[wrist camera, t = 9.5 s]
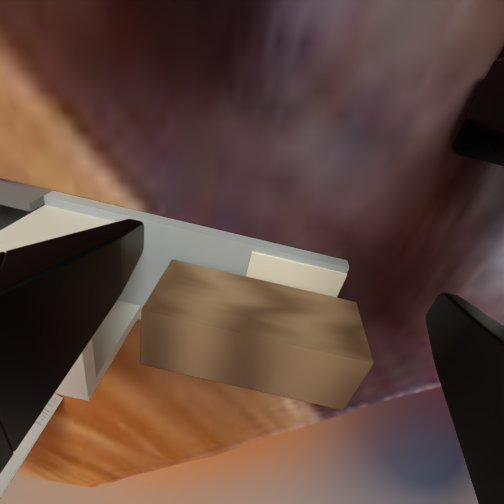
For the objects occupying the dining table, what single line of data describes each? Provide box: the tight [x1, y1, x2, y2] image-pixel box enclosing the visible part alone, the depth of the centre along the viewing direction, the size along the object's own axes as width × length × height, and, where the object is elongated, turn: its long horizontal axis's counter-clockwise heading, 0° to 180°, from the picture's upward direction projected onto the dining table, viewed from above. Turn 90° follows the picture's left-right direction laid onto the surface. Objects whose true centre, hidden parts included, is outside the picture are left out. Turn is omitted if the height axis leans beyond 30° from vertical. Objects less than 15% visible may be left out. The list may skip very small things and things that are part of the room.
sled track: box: [0, 178, 349, 401], centre depth 21 cm, size 27×10×9 cm, turn 78°
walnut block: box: [140, 259, 374, 410], centre depth 22 cm, size 14×5×6 cm, turn 78°
